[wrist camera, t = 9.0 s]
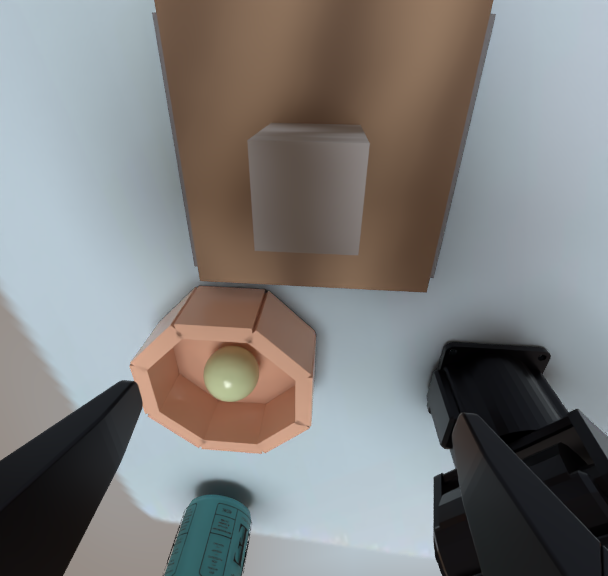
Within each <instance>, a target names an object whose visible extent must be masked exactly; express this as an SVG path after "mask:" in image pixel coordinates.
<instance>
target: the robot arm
mask: <svg viewBox="0 0 608 576" xmlns="http://www.w3.org/2000/svg"><path fill="white" fill-rule="evenodd" d="M452 349H455V350H454V351H450V350H452ZM540 355H541V356H540ZM550 357H551V355H550V353H549V352H548V351H547V349H545V348H541V347H524V346H507V345H491V344H474V343H457V342H451V343H448V344H446V345H445V346H444V348H443V352H442V355H441V359H440V362H439V366H438V369H436V370H435V371H434V372H433V375H432V379H431V382H430V386H429V390H428V393H427V400H428V404H427V408H428V411H429V413H430V414H432V417H433V421H434V425H435V428H436V432H437V435H438V439H439V442H440V445H441V446H442V447H443V448H444V449H450V452H451V455H452V458H453V462H454V465H455V468H456V469H454V470H451V471H449V472H447V473H445V474H443V473H441V474H439V475H437V476H435V477H434V549H435V558H436V561H437V563H438V565H439V568H440V571H441V574H442V576H608V436H607V435H606V434H604V433H603V432H602V431H601V430H600V429H599V428H598V427H597V426H596V425H595V424H594V423H593V422H591V421H590V420H589V419H588V418H587V417H586V416H585V415H584V414H583V413H582V412H581V411H579V410H578V409H575V410H573V411H571V412H568V411H567V409H566V408H565V407H564V405H563V404H562V402H561V401H560V399H559V398H558V396H557V395H556V394H555V392H554V391H553V389H552V388H551V386H550V385H549V383H548V382H547V380H546V379H545V378H544V376H543V375H542V374H543V372H544V370H545V368H546V366H547V364H548V362H549V360H550ZM142 406H143V401H142V397H141V393H140V390H139V386H138V384H137V383H136V382H135V381H127V380H122V381H119V382H118V383H116V384H115V385H113V386H112V387H110V388H109V389H107V390H106V391H104V392H103V393H101V394H100V395H98V396H97V397H95V398H94V399H92V400H91V401H89V402H88V403H86V404H85V405H83V406H82V407H80V408H79V409H77V410H76V411H74V412H73V413H71V414H70V415H68V416H67V417H65V418H64V419H62V420H61V421H59V422H58V423H56V424H55V425H53V426H52V427H50V428H49V429H47V430H46V431H44V432H43V433H41V434H40V435H38V436H37V437H35V438H34V439H32V440H31V441H29V442H28V443H26V444H25V445H23V446H22V447H20V448H19V449H17V450H16V451H14V452H13V453H11V454H10V455H8V456H7V457H5V458H4V459H2V460H1V461H0V576H63V574H64V573H65V571H66V569H67V567H68V565H69V563H70V561H71V559H72V557H73V555H74V553H75V551H76V549H77V547H78V545H79V543H80V541H81V539H82V537H83V535H84V534H85V532H86V530H87V528H88V526H89V524H90V522H91V520H92V518H93V516H94V514H95V512H96V510H97V508H98V506H99V504H100V502H101V500H102V498H103V496H104V494H105V492H106V491H107V489H108V486H109V485H110V483H111V481H112V479H113V477H114V475H115V473H116V471H117V469H118V467H119V465H120V463H121V461H122V458H123V456H124V453H125V451H126V448H127V446H128V443H129V441H130V438H131V436H132V433H133V430H134V428H135V425H136V423H137V420H138V418H139V415H140V413H141V410H142Z"/></svg>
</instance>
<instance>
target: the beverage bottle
mask: <svg viewBox="0 0 608 576" xmlns="http://www.w3.org/2000/svg"><path fill="white" fill-rule="evenodd" d="M186 509H187V510H186ZM186 509H185V510H186V513H185V516H183V517H182V518H184V519H183V521H182V519H181V521H182V523H180V524H182V525H181V528H180V526H179V528H180V531H179V534H178V536H177V535H176V536H177V537H175V539H176V538H177V540H176V542H175V540H174V542H175V545H174V543H173V545H174V548H173V546H172V548H173V552H172V554H171V552H170V554H171V558H170V560H169V558H168V560H169V563H168V562H167V564H168V566H167V569H166V572H165V574H164V575H165V576H242V571H243V567H244V562H245V558H246V553H247V549H246V546H247V548H248V544H247V543H249V541H248V542H247V540H248V536H249V535H250V534H249V529H250V530H251V528H252V527H251V528H250V524H251V523H252V522H251V517H250V512H249V510H248V508H247V507H246V506H245V505H243V504H242V503H241V502H239V501H237V500H235V499H232V498H229V497H226V496H221V495H203V496H199V497H197V498H195V499H194V500H192V502H191V503H190V505H189V506H188V507H187V508H186ZM184 512H185V511H184ZM183 515H184V513H183ZM178 530H179V529H178ZM177 533H178V532H177ZM250 533H251V532H250ZM171 551H172V549H171ZM245 551H246V552H245ZM244 557H245V558H244Z"/></svg>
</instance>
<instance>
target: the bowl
mask: <svg viewBox="0 0 608 576" xmlns="http://www.w3.org/2000/svg"><path fill="white" fill-rule="evenodd" d="M315 352H316V334H315V331H314V330H313V329H312V328H311V327H310V326H308V325H307V324H306V323H305V322H304V321H303V320H302V319H300V318H299V317H298V316H297V315H296V314H295V313H294V312H292V311H291V310H290V309H289V308H288V307H287V306H286V305H285V304H283V303H282V302H281V301H280V300H279V299H278V298H277V297H275V296H274V295H273V294H272V293H271V292H270V291H268V292H267V293H265V289H252V288H233V287H214V286H199V287H198V288H196V287H195V288H194V289H193V290H192V291H191V292H190V293H189V294H188V295H187V296H186V297H185V298H184V299H183V300H182V301H181V302H179V303H178V304H177V305H176V306H175V307H174V308H173V309H172V310H171V311H170V312H169V313H168V314H167V315H166V316H165V317H164V318H163V319H162V320H161V321H160V322H159V323H158V325H157V326H156V327H155V329H154V330H153V332H152V333H151V334H150V336H149V337H148V339H147V340H146V341H145V343H144V344H143V346H142V347H141V348H140V350H139V351H138V353H137V354H136V355H135V357H134V358H133V359H132V361H131V362H130V363H131V364H130V369H131V372H132V375H133V378H134V381H135V382H136V383H137V384H138V386H139V390H140V393H141V397H142V401H143V408H144V411H145V414H148V417H150V418H151V419H153V420H155V421H156V422H158V423H159V424H161V425H163V426H164V427H166V428H167V429H169V430H171V431H172V432H174V433H175V434H177V435H179V436H180V437H182V438H184V439H185V440H187V441H188V442H190V443H192V444H193V445H195V446H196V447H198V448H199V447H200V446H201V447H202V449H209V450H222V451H234V452H246V453H259V454H262V451H263V452H264V453H266V452H268V451H270V450H272V449H274V448H275V447H277V446H279V445H281V444H282V443H284V442H286V441H288V440H290V439H291V438H293V437H295V436H297V435H299V434H300V433H302V432H304V431H306V430H307V429H309V428H310V426H311V420H312V406H313V392H314V377H315Z"/></svg>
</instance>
